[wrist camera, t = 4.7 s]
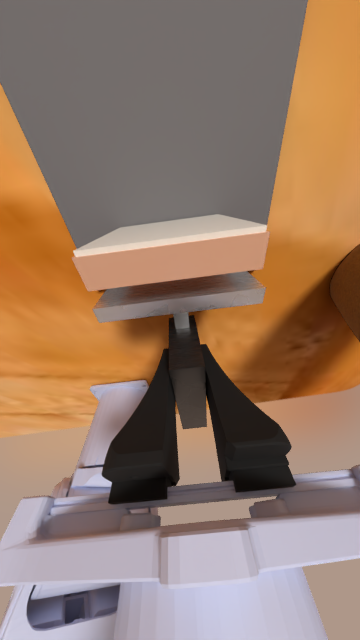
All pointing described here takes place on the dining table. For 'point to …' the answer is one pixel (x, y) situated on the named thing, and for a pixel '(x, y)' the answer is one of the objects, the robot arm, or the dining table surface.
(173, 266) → the tile
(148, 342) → the dining table surface
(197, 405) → the turner
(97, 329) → the dining table surface
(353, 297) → the plant pot
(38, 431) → the dining table surface
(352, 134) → the dining table surface
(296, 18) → the mat
